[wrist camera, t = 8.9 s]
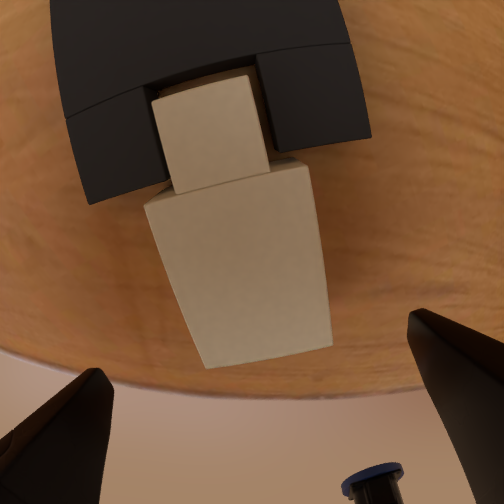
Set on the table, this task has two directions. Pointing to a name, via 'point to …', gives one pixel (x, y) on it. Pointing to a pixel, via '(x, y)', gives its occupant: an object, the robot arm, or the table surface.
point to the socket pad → (197, 76)
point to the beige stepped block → (237, 231)
